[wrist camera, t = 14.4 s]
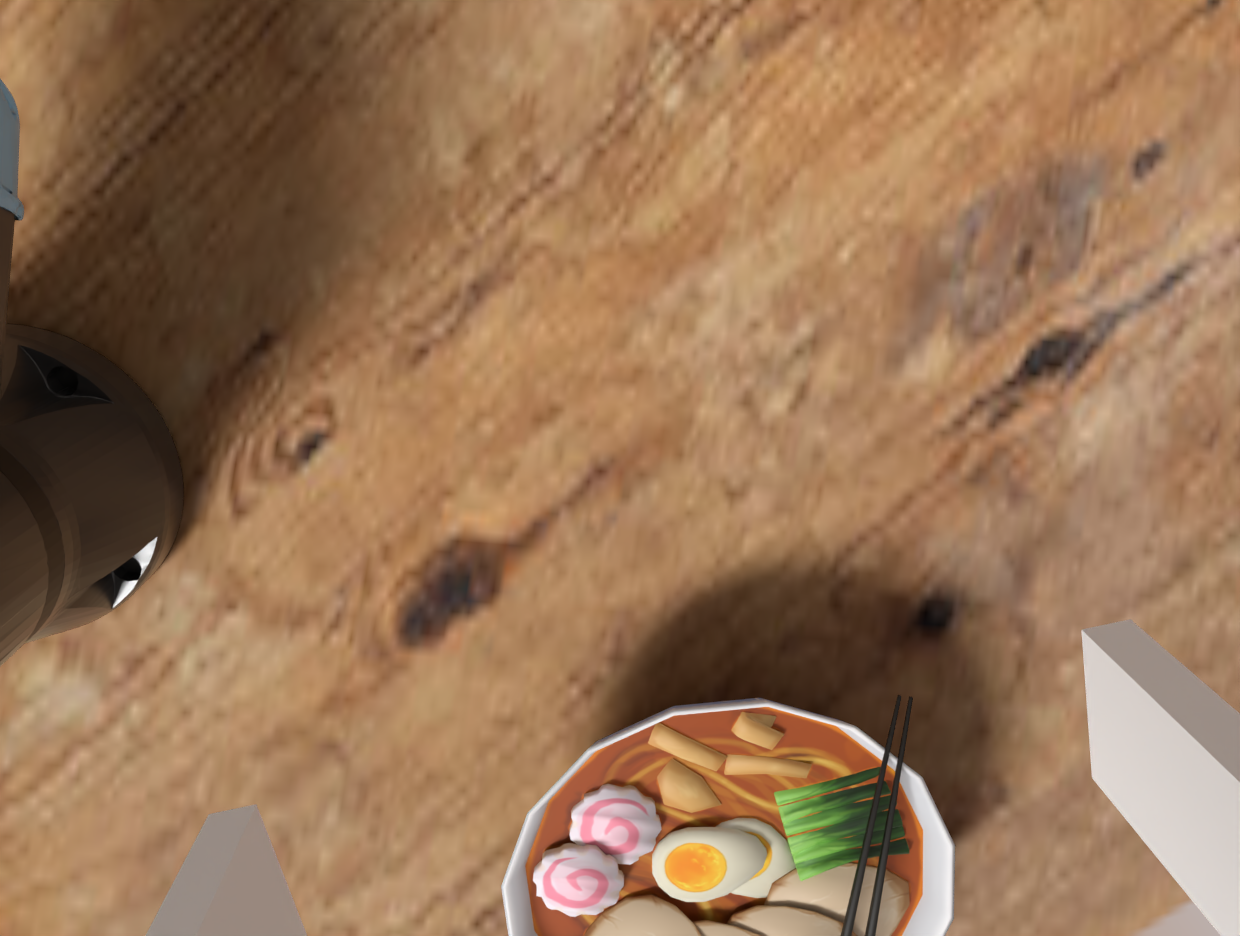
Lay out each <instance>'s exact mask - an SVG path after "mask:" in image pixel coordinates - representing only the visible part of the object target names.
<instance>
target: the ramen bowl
mask: <svg viewBox="0 0 1240 936" xmlns="http://www.w3.org/2000/svg"><path fill="white" fill-rule="evenodd" d="M912 700H913V698H912V697H909V701H908V706H907V711H906V717H905V722H904V727H903V733H902V738H901V744H900V749H899V754H898V758H897V757H896V756H894V755H893V754H892V753H890V749H891V744H892V739H893V734H894V729H895V725H896V720H897V715H898V710H899V705H900V701H901V695H898V697H897V701H896V705H895V709H894V713H893V718H892V722H891V726H890V730H889V734H888V739H887V743H886V747H885V748H884V747H883V746H881V745H880V744H879V743H877V742H876V741H875V740H873V739H872V738H871V737H869V736H868V735H867V734H866V733H864V732H863V731H862V730H860V729H859V728H858V727H856V726H854V725H851V724H849V723H846V722H844V721H841V720H838V719H834V718H831V717H827V716H824V715H820V714H816V713H813V712H809V711H806V710H802V709H799V708H795V707H791V706H788V705H784V704H781V703H777V702H774V701H770V700H766V699H763V698H751V699H741V700H730V701H720V702H709V703H699V704H689V705H678V706H672V707H670V708H668V709H666V710H664V711H661V712H659V713H657V714H655V715H653V716H650V717H648V718H646V719H644V720H642V721H639V722H637V723H635V724H633V725H631V726H628V727H626V728H624V729H622V730H620V731H618V732H615V733H613V734H611V735H609V736H607V737H604V738H602V739H600V740H598V741H596V742H595V743H594V744H593V745H592V746H591V747H589V748H588V749H587V750H586V751H585V752H584V753H583V755H582V756H581V757H580V758H579V759H578V760H577V761H576V762H575V763H574V764H573V765H572V766H571V767H570V768H569V769H568V770H567V772H566V773H565V774H564V775H563V776H562V777H561V778H560V779H559V780H558V781H557V782H556V783H555V784H554V785H553V786H552V787H551V789H550V790H549V791H548V792H547V793H546V794H545V795H544V796H543V797H542V798H541V799H540V800H539V801H538V802H537V803H536V805H535V806H534V807H533V808H532V809H531V810H530V811H529V812H528V813H527V816H526V819H525V822H524V824H523V827H522V830H521V833H520V836H519V838H518V841H517V844H516V847H515V850H514V852H513V855H512V858H511V861H510V863H509V866H508V869H507V872H506V875H505V877H504V880H503V883H502V886H501V888H502V895H503V901H504V908H505V915H506V921H507V928H508V935H509V936H945V934H946V932H947V931H948V929H949V927H950V925H951V923H952V921H953V919H954V874H955V844H954V842H953V840H952V838H951V836H950V834H949V832H948V830H947V828H946V826H945V823H944V821H943V819H942V817H941V815H940V813H939V811H938V809H937V807H936V805H935V802H934V800H933V798H932V796H931V794H930V792H929V790H928V788H927V786H926V784H925V781H924V779H923V777H922V776H920V775H919V774H918V773H916V772H915V771H914V770H913V769H911V768H910V767H909V766H907V765H906V764H905V763H903V757H904V751H905V744H906V738H907V731H908V725H909V719H910V712H911V706H912Z"/></svg>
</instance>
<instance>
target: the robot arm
mask: <svg viewBox="0 0 1240 936" xmlns="http://www.w3.org/2000/svg"><path fill="white" fill-rule="evenodd" d="M19 134H20V122H19V115H18V110H17V106H16V103H15V101H14V98H13V96H12V94H11V93H10V91H9V90H8V88H7V87H6V85H5V84H4V83H3V82H2V80H1V79H0V666H1V665H2V664H3V663H4V662H6V661H7V660H8V659H9V658H10V657H11V656H12V655H13V654H14V653H15V652H16V651H17V650H18V649H19V648H20V647H21V646H22V645H23V644H25V643H28V642H31V641H34V640H38V639H41V638H44V637H48V636H51V635H54V634H58V633H61V632H64V631H67V630H71V629H74V628H77V627H80V626H83V625H86V624H88V623H90V622H92V621H95V620H97V619H99V618H101V617H102V616H104V615H106V614H108V613H109V612H111V611H112V610H114V609H115V608H117V607H119V606H120V605H121V604H123V603H124V602H125V601H126V600H128V599H129V598H130V597H131V596H132V595H133V594H134V593H135V592H136V591H137V590H138V589H139V588H140V587H141V586H142V585H143V584H144V583H145V582H146V581H147V580H148V579H149V578H150V577H151V576H152V575H153V574H154V572H155V571H156V570H157V569H158V568H159V566H160V565H161V564H162V562H163V561H164V559H165V558H166V556H167V554H168V553H169V551H170V549H171V547H172V545H173V543H174V540H175V538H176V535H177V532H178V529H179V526H180V521H181V517H182V510H183V497H184V492H183V478H182V471H181V465H180V461H179V457H178V454H177V450H176V447H175V445H174V442H173V439H172V437H171V435H170V432H169V430H168V428H167V426H166V424H165V423H164V421H163V419H162V417H161V416H160V414H159V412H158V411H157V409H156V408H155V406H154V405H153V404H152V402H151V401H150V399H149V398H148V397H147V396H146V395H145V393H144V392H143V391H142V390H141V389H140V388H139V386H138V385H137V384H136V383H135V382H134V381H133V380H132V379H131V378H130V377H129V376H127V375H126V374H125V373H124V372H123V371H122V370H121V369H119V368H118V367H117V366H116V365H115V364H113V363H112V362H110V361H109V360H108V359H106V358H105V357H103V356H102V355H100V354H99V353H97V352H95V351H94V350H92V349H90V348H89V347H87V346H85V345H83V344H81V343H79V342H77V341H74V340H72V339H70V338H68V337H65V336H62V335H60V334H57V333H54V332H50V331H47V330H44V329H39V328H35V327H30V326H24V325H16V324H6V319H7V307H8V295H9V283H10V270H11V258H12V246H13V234H14V222H15V220H19V221H20V220H22V219H23V217H24V207H23V204H22V202H21V201H20V200H19V199H18V197H17V191H18V162H19ZM1082 643H1083V657H1084V671H1085V685H1086V699H1087V713H1088V727H1089V741H1090V755H1091V769H1092V778H1093V780H1094V781H1095V782H1096V783H1097V784H1098V786H1099V787H1100V788H1101V789H1102V791H1103V792H1104V793H1105V794H1106V796H1107V797H1108V798H1109V799H1110V800H1111V802H1112V803H1113V804H1114V805H1115V807H1116V808H1117V809H1118V810H1119V811H1120V813H1121V814H1122V815H1123V816H1124V818H1125V819H1126V820H1127V821H1128V823H1129V824H1130V825H1131V826H1132V827H1133V829H1134V830H1135V831H1136V832H1137V834H1138V835H1139V836H1140V837H1141V838H1142V840H1143V841H1144V842H1145V843H1146V845H1147V846H1148V847H1149V848H1150V849H1151V851H1152V852H1153V853H1154V854H1155V856H1156V857H1157V858H1158V859H1159V861H1160V862H1161V863H1162V864H1163V865H1164V867H1165V868H1166V869H1167V870H1168V872H1169V873H1170V874H1171V875H1172V876H1173V878H1174V879H1175V880H1176V881H1177V883H1178V884H1179V885H1180V886H1181V888H1182V889H1183V890H1184V891H1185V892H1186V894H1187V895H1188V896H1189V897H1190V899H1191V900H1192V901H1193V902H1194V903H1195V905H1196V906H1197V907H1198V908H1199V910H1200V911H1201V912H1202V913H1203V914H1204V916H1205V917H1206V918H1207V919H1208V921H1209V922H1210V923H1211V924H1212V926H1213V927H1214V928H1215V929H1216V930H1217V931H1218V933H1219V934H1220V935H1221V936H1240V714H1239V713H1238V712H1237V711H1236V710H1235V709H1234V708H1232V707H1231V706H1230V705H1229V704H1228V703H1227V702H1226V701H1224V700H1223V699H1222V698H1221V697H1220V696H1219V695H1217V694H1216V693H1215V692H1214V691H1213V690H1212V689H1210V688H1209V687H1208V686H1207V685H1206V684H1205V683H1204V682H1202V681H1201V680H1200V679H1199V678H1198V677H1197V676H1195V675H1194V674H1193V673H1192V672H1191V671H1190V670H1188V669H1187V668H1186V667H1185V666H1184V665H1183V664H1182V663H1180V662H1179V661H1178V660H1177V659H1176V658H1175V657H1173V656H1172V655H1171V654H1170V653H1169V652H1168V651H1166V650H1165V649H1164V648H1163V647H1162V646H1161V645H1160V644H1158V643H1157V642H1156V641H1155V640H1154V639H1153V638H1151V637H1150V636H1149V635H1148V634H1147V633H1146V632H1144V631H1143V630H1142V629H1141V628H1140V627H1139V626H1137V625H1136V624H1135V623H1134V622H1133V621H1132V620H1131V619H1130V620H1125V621H1120V622H1116V623H1111V624H1106V625H1101V626H1097V627H1092V628H1087V629H1083V630H1082ZM146 936H307V934H306V932H305V929H304V926H303V924H302V921H301V919H300V916H299V914H298V911H297V908H296V906H295V903H294V901H293V898H292V895H291V893H290V890H289V888H288V885H287V882H286V880H285V877H284V875H283V872H282V870H281V867H280V864H279V862H278V859H277V857H276V854H275V851H274V849H273V846H272V844H271V841H270V839H269V836H268V833H267V831H266V828H265V826H264V823H263V820H262V818H261V815H260V813H259V810H258V808H257V805H251V806H246V807H241V808H237V809H232V810H227V811H222V812H218V813H213V814H209V815H208V817H207V819H206V821H205V823H204V825H203V827H202V828H201V830H200V832H199V834H198V836H197V838H196V840H195V842H194V844H193V846H192V848H191V850H190V851H189V853H188V855H187V857H186V859H185V861H184V863H183V865H182V867H181V869H180V871H179V873H178V874H177V876H176V878H175V880H174V882H173V884H172V886H171V888H170V890H169V892H168V894H167V896H166V897H165V899H164V901H163V903H162V905H161V907H160V909H159V911H158V913H157V915H156V917H155V919H154V921H153V922H152V924H151V926H150V928H149V930H148V932H147V934H146Z"/></svg>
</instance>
